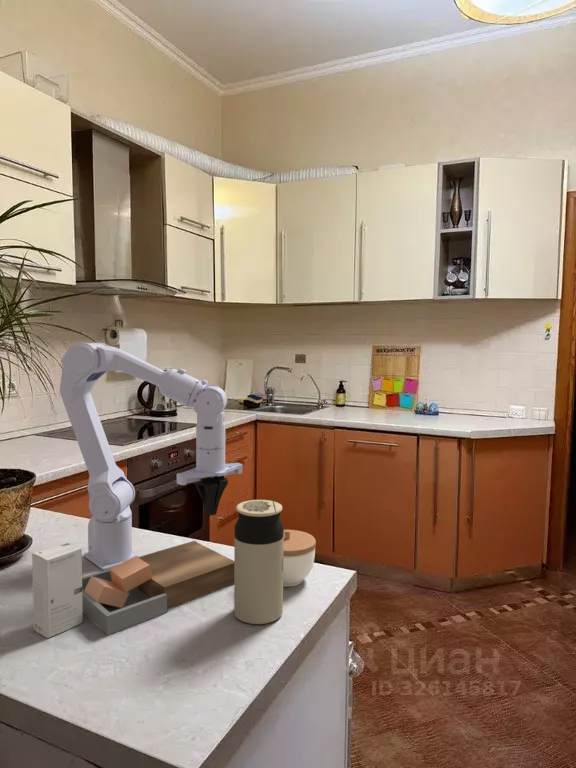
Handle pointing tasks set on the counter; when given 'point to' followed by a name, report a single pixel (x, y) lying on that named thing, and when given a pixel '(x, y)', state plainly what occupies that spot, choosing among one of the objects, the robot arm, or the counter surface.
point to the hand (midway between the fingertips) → (210, 513)
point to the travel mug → (258, 562)
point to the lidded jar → (297, 556)
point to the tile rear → (130, 573)
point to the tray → (121, 618)
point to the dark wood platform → (186, 573)
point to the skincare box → (57, 589)
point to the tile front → (106, 592)
